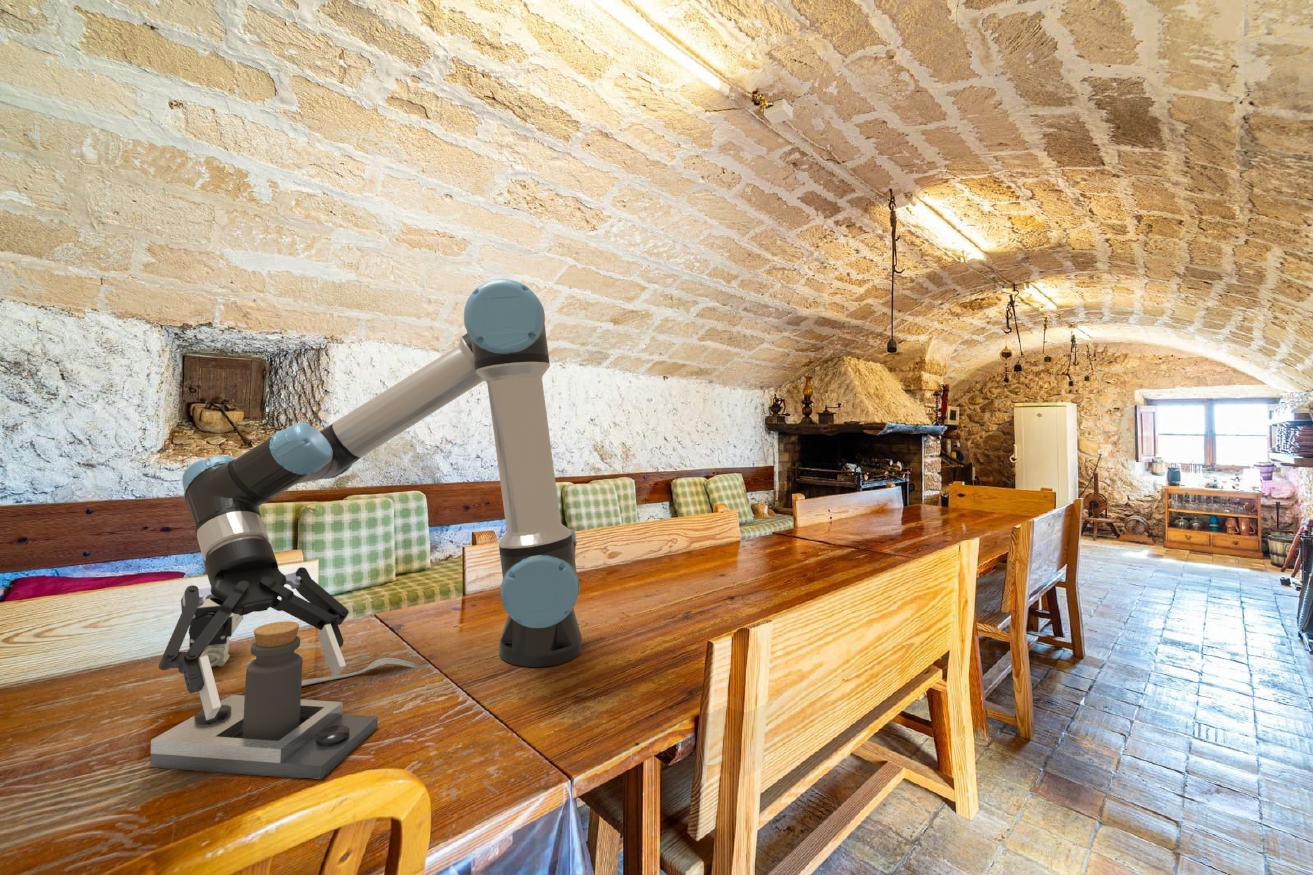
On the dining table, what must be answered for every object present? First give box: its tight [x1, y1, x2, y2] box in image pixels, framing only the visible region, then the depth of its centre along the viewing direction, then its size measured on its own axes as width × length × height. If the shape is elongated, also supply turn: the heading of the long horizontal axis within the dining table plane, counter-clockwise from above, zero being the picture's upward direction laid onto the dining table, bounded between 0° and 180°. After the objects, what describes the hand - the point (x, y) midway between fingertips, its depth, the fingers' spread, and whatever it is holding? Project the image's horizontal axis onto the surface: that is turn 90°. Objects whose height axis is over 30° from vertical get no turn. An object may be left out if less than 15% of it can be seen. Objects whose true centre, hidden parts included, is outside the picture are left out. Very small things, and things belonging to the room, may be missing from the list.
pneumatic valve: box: [188, 598, 244, 668], centre depth 90 cm, size 6×12×12 cm, turn 28°
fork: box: [301, 657, 417, 687], centre depth 87 cm, size 3×21×3 cm, turn 120°
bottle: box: [243, 620, 303, 741], centre depth 67 cm, size 6×6×15 cm
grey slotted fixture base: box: [149, 694, 379, 781], centre depth 67 cm, size 21×11×4 cm, turn 86°
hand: (282, 691), depth 66 cm, fingers open, 13 cm apart
